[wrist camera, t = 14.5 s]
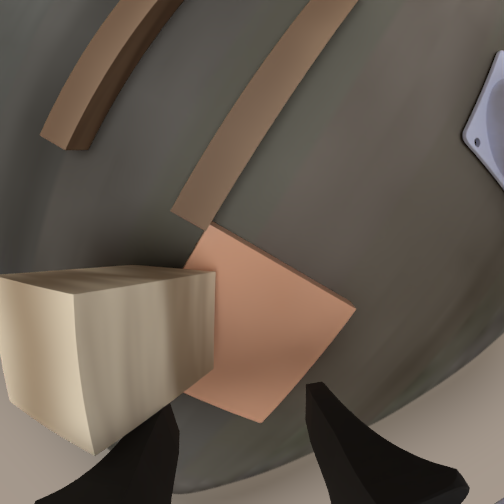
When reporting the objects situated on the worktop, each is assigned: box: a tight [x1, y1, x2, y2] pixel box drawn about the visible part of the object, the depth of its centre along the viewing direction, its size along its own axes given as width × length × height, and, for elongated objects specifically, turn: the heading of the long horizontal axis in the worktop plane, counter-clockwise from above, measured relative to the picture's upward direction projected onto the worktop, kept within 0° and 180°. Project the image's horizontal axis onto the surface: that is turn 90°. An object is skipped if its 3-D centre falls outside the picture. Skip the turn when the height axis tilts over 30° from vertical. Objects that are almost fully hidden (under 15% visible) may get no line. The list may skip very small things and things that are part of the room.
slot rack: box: [40, 0, 358, 231], centre depth 11 cm, size 8×14×2 cm, turn 148°
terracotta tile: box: [182, 221, 356, 423], centre depth 16 cm, size 8×9×1 cm
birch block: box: [0, 265, 216, 456], centre depth 11 cm, size 4×4×8 cm
